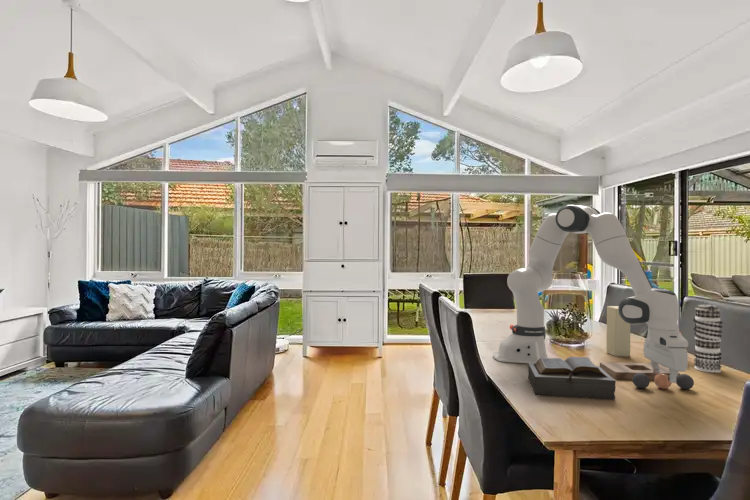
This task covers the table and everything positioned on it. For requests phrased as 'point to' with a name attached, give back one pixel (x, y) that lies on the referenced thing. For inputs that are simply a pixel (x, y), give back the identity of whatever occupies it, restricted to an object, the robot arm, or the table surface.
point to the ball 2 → (684, 381)
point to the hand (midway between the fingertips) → (664, 378)
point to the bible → (570, 379)
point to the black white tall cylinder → (707, 338)
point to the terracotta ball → (662, 381)
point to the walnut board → (631, 370)
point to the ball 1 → (640, 380)
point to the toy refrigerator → (617, 333)
